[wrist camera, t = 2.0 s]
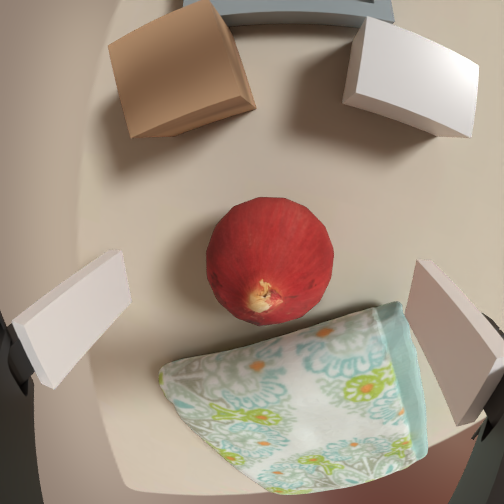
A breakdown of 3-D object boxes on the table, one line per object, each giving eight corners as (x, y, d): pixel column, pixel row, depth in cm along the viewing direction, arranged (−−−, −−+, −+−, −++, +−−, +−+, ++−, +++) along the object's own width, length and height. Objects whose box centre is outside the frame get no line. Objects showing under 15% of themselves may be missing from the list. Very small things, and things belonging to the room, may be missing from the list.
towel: (270, 469, 28) (265, 503, 23) (164, 352, 22) (140, 396, 18) (421, 433, 23) (430, 470, 18) (392, 276, 17) (419, 320, 13)
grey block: (351, 41, 12) (367, 15, 9) (444, 76, 12) (479, 65, 8) (341, 103, 14) (355, 92, 10) (436, 136, 14) (471, 138, 10)
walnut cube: (153, 64, 14) (107, 45, 10) (232, 33, 13) (207, -3, 8) (174, 136, 16) (130, 138, 11) (256, 108, 15) (240, 95, 10)
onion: (299, 294, 18) (298, 389, 11) (213, 259, 18) (162, 338, 11) (341, 210, 16) (377, 270, 9) (246, 170, 16) (202, 197, 8)
